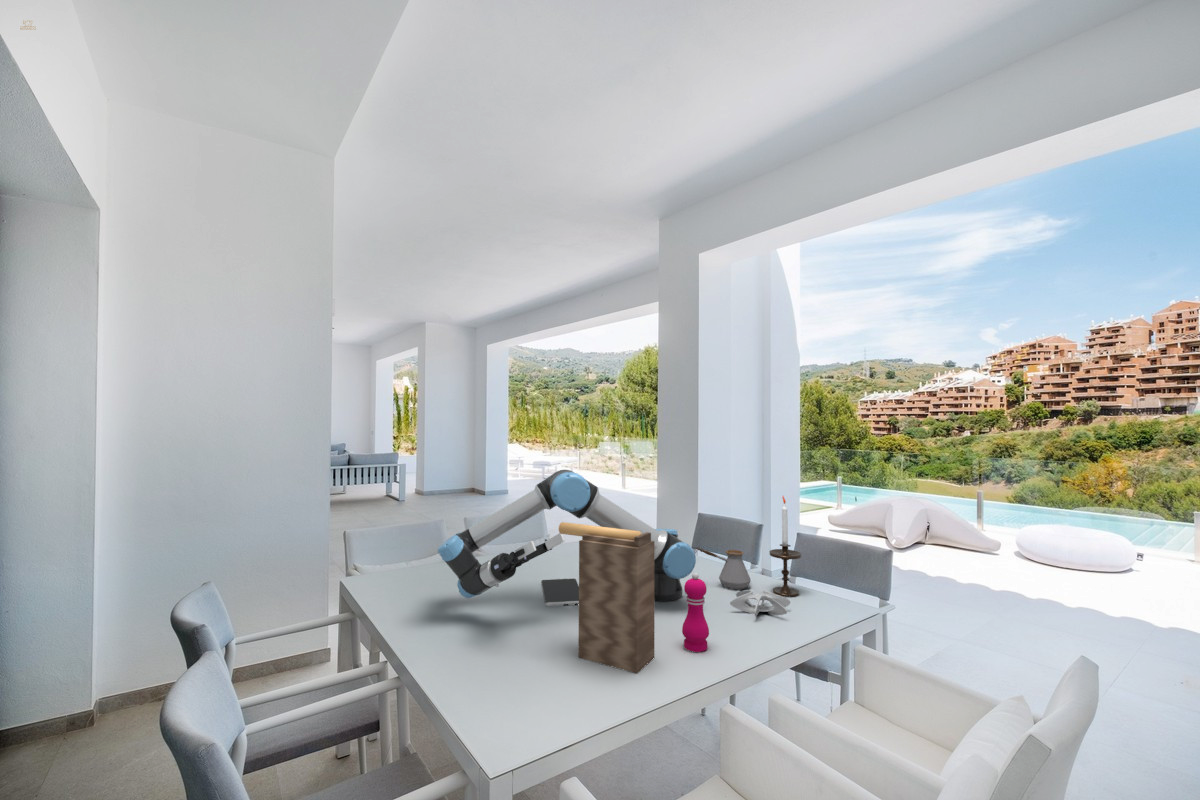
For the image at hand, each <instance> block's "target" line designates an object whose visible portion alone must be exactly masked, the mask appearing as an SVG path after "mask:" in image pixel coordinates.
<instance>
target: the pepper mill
mask: <svg viewBox="0 0 1200 800" xmlns="http://www.w3.org/2000/svg"><path fill="white" fill-rule="evenodd" d="M691 577H692V578H689V579H688V580H686V581H685V583H684V586H683V587H684V588H683V589H684V593H685V594H686V596H685V599H686V602H685V603H687V613H686V616H685V619H684V621H683V623H682V628H681V632H682V635H683V637H684V640H683V647H685V648H686V649H687V651H688V650H689V652H692V651H693V652H692V653H703V652H705V650H706V651H707V650H708V640H706V639H708V638H709V635H710V630H709V629H710V628H709V624H708V622H707V620H706V618H705V615H704V614H705V613H704V604H705V603H706V601H705V597H704V596H705V595H706V594H707V584H706V583H705V581H704V580H702V579H701V578H699V574H698V573H697V572H693V573H692V575H691ZM685 648H684V649H685ZM686 649H685V650H686ZM702 651H703V652H702Z"/></svg>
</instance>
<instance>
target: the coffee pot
mask: <svg viewBox="0 0 1200 800" xmlns="http://www.w3.org/2000/svg"><path fill="white" fill-rule="evenodd" d="M693 551H694V553H695V554H696V553H697V552H698V551H700V552H701V553H702V552H703V553H704V554H706V555H708V556H711V557H714V558H717V559H719V560H722V561H724V565H723V567H722V569H721V571H720V574H719V577H718V579H719V582H720V583H721V584H722V585H723V586H724V588H726V589H730V590H735V591H737V590H738V591H739V590H740V591H742V590H744V589H746V588H747V587H748V586H749V585H750V583H751V582H752V581H751V577H750V574H749V573H748V570H747V567H746V566H745V563H744V560H743V555H744V552H743V551H742V550H737V549H728V550H726V551H725V553H726V556H727V558H726V557H723V556H720V555H718V554H716V553H713V552H711V551H709V550H707V549H706V550H705V549H704V548H700V547H695V549H693Z"/></svg>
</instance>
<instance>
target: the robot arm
mask: <svg viewBox="0 0 1200 800" xmlns="http://www.w3.org/2000/svg"><path fill="white" fill-rule="evenodd" d="M555 507H558V508H559V509H560V510H562V511H565V512H567V513H570V515H573V516H574V517H576V518H577V519H583V518H586V519H588V520H589V521H591V522H593V523H594V524H595V525H598V526H600V527H608V528H617V529H625V530H634V531H640V532H641V534H644V533H646V532H649V533H651V541H654V601H657V602H658V601H659V602H669V601H671V602H672V601H677V600H679V599H681V598H682V597H683V593H684V592H683V587H682V583H681V579H684V578H686V577H688V576H689V575H690V574H691V573H692V572H693V571H694V569H695V567H696V563H697V559H696V553H695V552H694V549H693V548H692V546H690V544H689V543H687V542H684V541H682V540H681V539H679V538H678V537H679V534H678V531H677V529H674V528H653V527H652V526H650V525H649V524H647V523H646V522H644V521H643V520H641V519H639V518H638V517H637V516H634V515H633V514H631V513H630V512H628V511H627V510H625V509H624V508H622V507H621V506H619V505H617V504H616V503H614V502H612V501H611V500H610V499H608V498H607V497H605V496H604V495H602V494H600V490H599V487H598V486H596V485H595V484H593V483H592V482H590V481H588V480H587V479H585V478H584V477H583V475H581V474H579V473H577V472H574V471H573V470H569V469H560V470H557V471H556V472H554V473H552V474H551V475H549V476H547V478H545V479H543V480H542V481H540V482H539V483H537V484H535V486H534V489H533V490H531V491H529V492H528V493H526V494H525V495H523V496H521V497H519V498H517V499H516V500H515V501H513V502H511V503H508V504H507V505H506V506H504V507H502V508H501V509H499V510H498V511H496V512H494V513H492V514H490V515H489V516H487V517H485V518H483V519H482V520H481V521H478V522H477V523H475V524H474V525H472V526H470V527H469V528H467V529H465V530H463V531H462V532H458V533H455V534H454V535H452V536H450V537H449V538H447V539H446V540H445V541H443V542H442V543H441V544H440V546H439V547H438V548H437V553H438V555H439V556H440V557H441V559H442V561H444V563H446V565H447V566H448V568H450V570H451V571H452V572H453V573H454V575H455V576H456V577H457V578H458V581H457V583H456V584H457V585H456V586H457V588H458V593H459V594H460V595H461V596H462V597H464V598H467V599H472V598H475V597H477V596H480V595H482V594H483V593H485V592H487V591H489V590H490V589H492V588H493V587H495V588H498V587H499V586H500V585H499V584H501V583H503V582H504V581H506V580H509V579H510V578H512V577H513V576H514V575H515V574H516V572H517V568H519V567H520V566H522V565H523V564H525V563H527V562H529V561H531V560H533V559H535V558H537V557H539V556H541V555H543V554H545V553H547V552H549V551H552V550H553V548H555V547H557V546H559V545H561V544H563V543H564V542H565V541H566V540H565V538H564V537H565V536H564V534H560V533H557V534H555V535H553V536H551V537H550V538H548V539H547V538H546V539H544V542H543V543H540V544H538V545H536V546H535V543H534V540H531V541H529V542H527V543H526V544H524V545H522V546H520V547H519V548H517V549H515V550H514V551H511V552H510V553H506V552H502V553H499V554H498V555H496V556H494V557H492V558H490V559H488V560H486V561H485V562H484V563H482V564H481V563H480V562H479V560H478V559H477V558H476V556H475V555H474V554H473V553H474V552H476V551H478V550H479V549H480V548H482V547H484V546H486V545H487V544H489V543H490V542H492V541H494V540H495V539H497V538H499V537H501V536H503V535H504V534H506V533H507V532H509V531H511V530H512V529H514V528H515V527H517V526H519V525H520V524H522V523H524V522H526V521H528V520H529V519H531V518H532V517H534V516H535V515H537V514H539V513H540V512H542V511H543V512H544V510H549V511H550V510H551V509H553V508H555Z"/></svg>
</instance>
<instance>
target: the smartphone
mask: <svg viewBox="0 0 1200 800" xmlns="http://www.w3.org/2000/svg"><path fill="white" fill-rule="evenodd" d="M541 588H542V593H543V599H545V600H544V604H545V606H546V607H559V606H558V605H567V604H568V605H567V606H576V605H577V604H579V582H578V581H577V579H576V578H574V577H573V578H571V577H569V578H551V579H548V578H547V579H542V580H541ZM575 604H576V605H575Z"/></svg>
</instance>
